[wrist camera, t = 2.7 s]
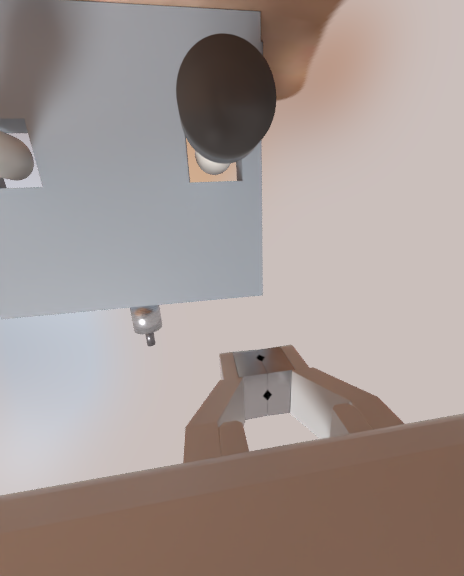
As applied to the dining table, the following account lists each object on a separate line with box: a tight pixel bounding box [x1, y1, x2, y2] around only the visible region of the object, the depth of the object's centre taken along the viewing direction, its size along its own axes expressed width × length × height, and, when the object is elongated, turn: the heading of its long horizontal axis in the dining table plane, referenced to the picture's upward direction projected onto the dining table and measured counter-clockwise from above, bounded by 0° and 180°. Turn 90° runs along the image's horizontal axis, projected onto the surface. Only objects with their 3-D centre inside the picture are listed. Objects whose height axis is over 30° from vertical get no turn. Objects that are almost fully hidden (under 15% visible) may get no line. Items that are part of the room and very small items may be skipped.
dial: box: [130, 305, 162, 346], centre depth 24 cm, size 3×3×5 cm
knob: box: [176, 33, 276, 175], centre depth 15 cm, size 10×5×5 cm, turn 172°
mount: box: [0, 0, 263, 319], centre depth 22 cm, size 8×26×22 cm, turn 82°
